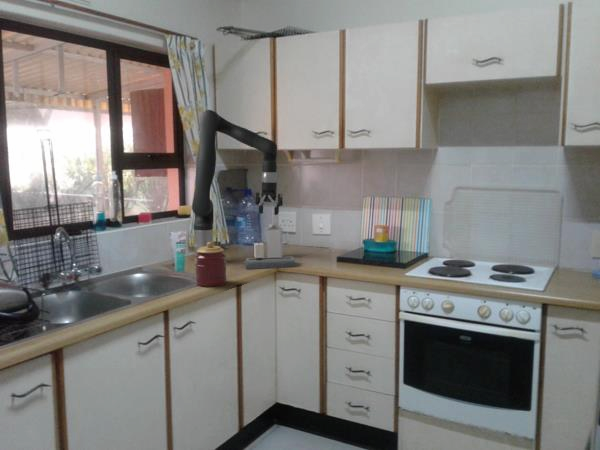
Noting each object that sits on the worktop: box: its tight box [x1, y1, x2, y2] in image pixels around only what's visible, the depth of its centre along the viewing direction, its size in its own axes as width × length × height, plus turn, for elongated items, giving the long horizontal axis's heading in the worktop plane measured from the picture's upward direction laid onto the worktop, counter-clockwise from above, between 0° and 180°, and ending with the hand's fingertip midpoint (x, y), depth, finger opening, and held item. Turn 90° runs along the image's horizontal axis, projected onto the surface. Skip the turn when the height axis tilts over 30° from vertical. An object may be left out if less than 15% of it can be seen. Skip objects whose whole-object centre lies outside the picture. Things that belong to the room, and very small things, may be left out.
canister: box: [194, 242, 228, 287], centre depth 218 cm, size 13×13×18 cm
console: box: [243, 255, 297, 270], centre depth 255 cm, size 24×12×4 cm, turn 101°
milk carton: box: [266, 220, 284, 257], centre depth 276 cm, size 7×7×19 cm
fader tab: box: [253, 242, 265, 260], centre depth 253 cm, size 4×5×9 cm
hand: (268, 214), depth 259 cm, fingers open, 8 cm apart
